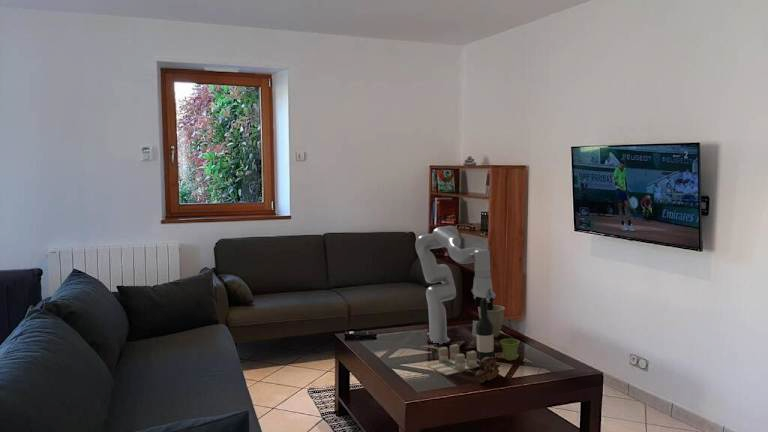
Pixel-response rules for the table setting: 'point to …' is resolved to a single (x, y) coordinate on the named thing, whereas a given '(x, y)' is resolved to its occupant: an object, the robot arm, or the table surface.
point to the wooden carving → (487, 369)
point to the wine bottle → (484, 333)
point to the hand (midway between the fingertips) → (483, 308)
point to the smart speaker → (474, 333)
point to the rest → (454, 361)
